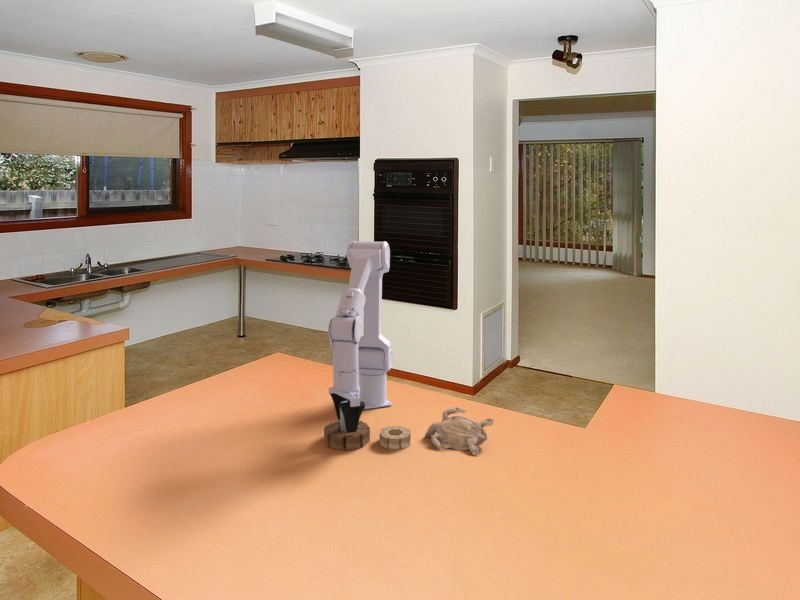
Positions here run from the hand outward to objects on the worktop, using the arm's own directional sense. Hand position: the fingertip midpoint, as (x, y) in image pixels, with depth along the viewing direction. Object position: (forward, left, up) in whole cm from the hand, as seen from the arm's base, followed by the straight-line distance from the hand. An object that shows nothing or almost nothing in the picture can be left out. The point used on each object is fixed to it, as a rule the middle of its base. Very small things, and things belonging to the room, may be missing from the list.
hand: (346, 425), depth 138 cm
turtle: (+11, +23, -4) cm, 26 cm away
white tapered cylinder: (0, 0, -4) cm, 4 cm away
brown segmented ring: (0, 0, -4) cm, 4 cm away
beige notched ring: (+5, +10, -4) cm, 12 cm away
